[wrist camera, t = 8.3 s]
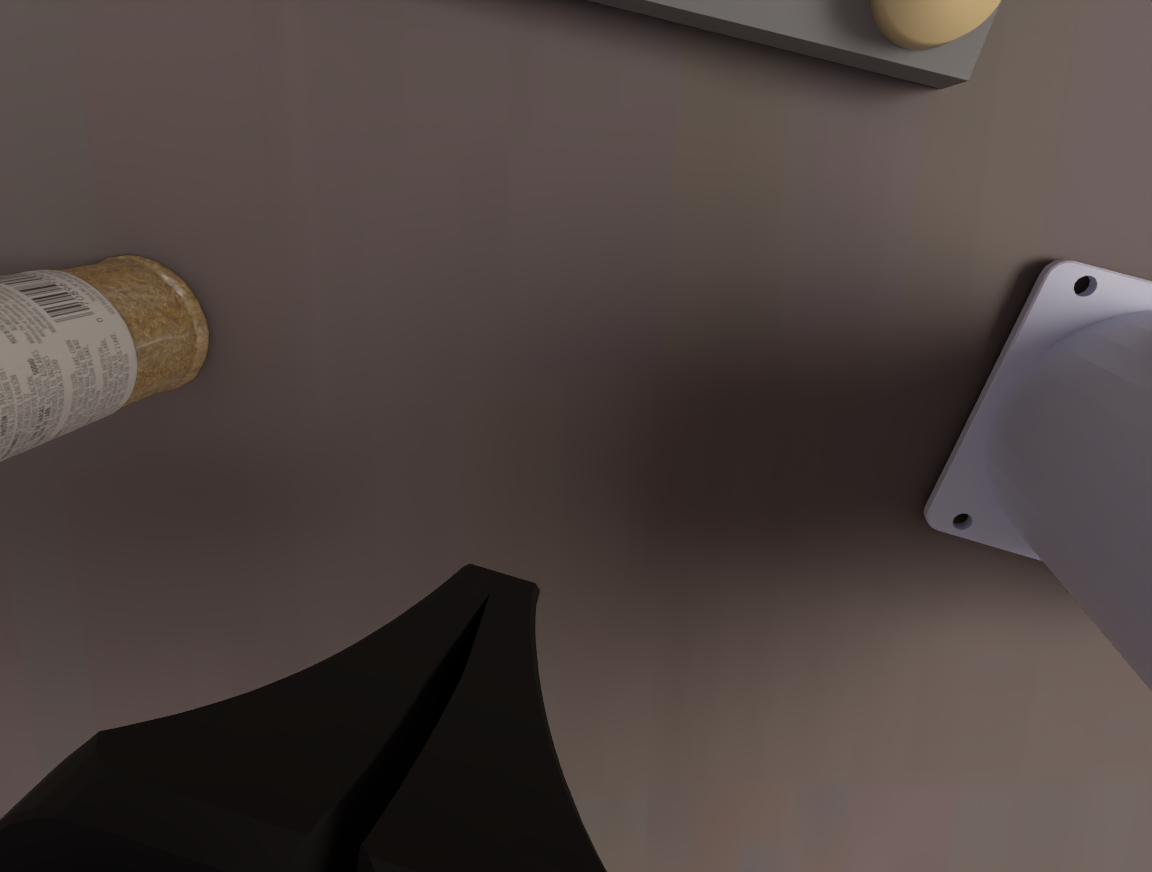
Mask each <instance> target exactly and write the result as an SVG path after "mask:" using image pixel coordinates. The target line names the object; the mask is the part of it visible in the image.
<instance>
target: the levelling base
mask: <svg viewBox="0 0 1152 872" xmlns="http://www.w3.org/2000/svg"><path fill="white" fill-rule="evenodd" d="M587 1H591V2H595V3H599V4H603V5H607V6H611V7H615V8H619V9H623V10H627V11H631V12H635V13H639V14H643V15H647V16H651V17H655V18H659V19H663V20H667V21H671V22H675V23H679V24H683V25H687V26H691V27H695V28H699V29H703V30H707V31H711V32H715V33H719V34H723V35H727V36H731V37H735V38H739V39H743V40H747V41H751V42H755V43H759V44H763V45H767V46H771V47H775V48H779V49H783V50H787V51H791V52H795V53H799V54H803V55H807V56H811V57H815V58H819V59H823V60H827V61H831V62H835V63H839V64H843V65H847V66H851V67H855V68H859V69H863V70H867V71H871V72H875V73H879V74H883V75H887V76H891V77H895V78H899V79H903V80H907V81H911V82H915V83H919V84H923V85H927V86H931V87H935V88H939V89H943V88H947V87H950V86H953V85H956V84H959V83H962V82H966V81H968V80H969V78H970V76H971V73H972V71H973V68H974V66H975V63H976V61H977V59H978V56H979V54H980V51H981V49H982V46H983V44H984V41H985V39H986V37H987V34H988V32H989V29H990V27H991V24H992V22H993V20H994V17H995V15H996V12H997V10H998V7H999V5H1000V3H1001V0H587Z"/></svg>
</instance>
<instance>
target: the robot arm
mask: <svg viewBox="0 0 1152 872" xmlns="http://www.w3.org/2000/svg"><path fill="white" fill-rule="evenodd" d="M1083 276H1088V278H1089V280H1090V283H1089V287H1088V288H1087V289H1086V290H1085V291H1084V292H1082V293H1080V294H1075V291H1074V284H1075V282H1076V281H1077V280H1078V279H1079V278H1081V277H1083ZM959 514H968V517H967V519H966V520H965V521H964V522H962V523H953V519H954V518H955V517H956V516H957V515H959ZM924 516H925V519H926V521H927V522H928V524H929V525H930V526H931V527H932V528H934V529H936V530H938V531H941V532H945V533H948V534H951V535H955V536H958V537H962V538H965V539H968V540H972V541H975V542H979V543H982V544H985V545H989V546H992V547H996V548H999V549H1003V550H1006V551H1009V552H1013V553H1016V554H1020V555H1023V556H1026V557H1030V558H1033V559H1037V560H1040V561H1043V562H1044V564H1045V565H1046V566H1047V567H1048V568H1049V570H1050V571H1051V572H1052V573H1053V574H1054V575H1055V577H1056V578H1057V579H1058V580H1059V581H1060V583H1061V584H1062V585H1063V586H1064V587H1065V589H1066V590H1067V591H1068V592H1069V593H1070V595H1071V596H1072V597H1073V598H1074V599H1075V601H1076V602H1077V603H1078V604H1079V605H1080V607H1081V608H1082V609H1083V610H1084V611H1085V612H1086V614H1087V615H1088V616H1089V617H1090V618H1091V620H1092V621H1093V622H1094V623H1095V624H1096V626H1097V627H1098V628H1099V629H1100V630H1101V632H1102V633H1103V634H1104V635H1105V636H1106V638H1107V639H1108V640H1109V641H1110V642H1111V643H1112V645H1113V646H1114V647H1115V648H1116V649H1117V651H1118V652H1119V653H1120V654H1121V655H1122V657H1123V658H1124V659H1125V660H1126V661H1127V663H1128V664H1129V665H1130V666H1131V667H1132V669H1133V670H1134V671H1135V672H1136V673H1137V675H1138V676H1139V677H1140V678H1141V679H1142V680H1143V682H1144V683H1145V684H1146V685H1147V686H1148V688H1149V689H1150V690H1151V691H1152V281H1148V280H1145V279H1141V278H1137V277H1133V276H1129V275H1126V274H1122V273H1118V272H1114V271H1110V270H1107V269H1103V268H1099V267H1095V266H1091V265H1088V264H1084V263H1080V262H1076V261H1073V260H1068V259H1059V260H1056V261H1053V262H1051V263H1050V264H1048V265H1047V266H1045V267H1044V269H1043V270H1042V271H1041V273H1040V274H1039V276H1038V278H1037V280H1036V282H1035V284H1034V286H1033V289H1032V291H1031V293H1030V295H1029V297H1028V299H1027V301H1026V303H1025V305H1024V307H1023V309H1022V311H1021V313H1020V315H1019V317H1018V319H1017V321H1016V323H1015V325H1014V327H1013V329H1012V331H1011V333H1010V335H1009V337H1008V339H1007V341H1006V343H1005V345H1004V347H1003V349H1002V351H1001V353H1000V355H999V357H998V359H997V362H996V364H995V366H994V368H993V370H992V372H991V374H990V376H989V378H988V380H987V382H986V384H985V386H984V388H983V390H982V392H981V394H980V396H979V398H978V400H977V402H976V404H975V406H974V408H973V410H972V412H971V414H970V416H969V418H968V420H967V422H966V424H965V426H964V428H963V430H962V432H961V434H960V437H959V439H958V441H957V443H956V445H955V447H954V449H953V451H952V453H951V455H950V457H949V459H948V461H947V463H946V465H945V467H944V469H943V471H942V473H941V475H940V477H939V479H938V481H937V483H936V485H935V487H934V489H933V491H932V493H931V495H930V497H929V499H928V501H927V503H926V505H925V509H924ZM539 593H540V590H539V588H538V587H537V585H536V583H533V582H529V581H526V580H523V579H519V578H516V577H513V576H509V575H506V574H503V573H499V572H496V571H493V570H489V569H486V568H483V567H479V566H476V565H473V564H468V565H466V566H464V567H462V568H461V569H460V570H459V571H458V572H457V573H456V574H454V575H453V576H452V577H451V578H450V579H448V580H447V581H446V582H445V583H443V584H442V585H441V586H440V587H438V588H437V589H436V590H434V591H433V592H432V593H431V594H429V595H428V596H427V597H425V598H424V599H423V600H421V601H420V602H418V603H417V604H416V605H414V606H413V607H411V608H410V609H408V610H407V611H406V612H404V613H403V614H401V615H400V616H399V617H397V618H396V619H394V620H393V621H391V622H389V623H388V624H386V625H385V626H383V627H381V628H380V629H378V630H377V631H375V632H373V633H372V634H370V635H368V636H367V637H365V638H364V639H362V640H360V641H359V642H357V643H355V644H353V645H352V646H350V647H348V648H346V649H344V650H343V651H341V652H339V653H337V654H335V655H333V656H331V657H329V658H327V659H325V660H323V661H321V662H319V663H317V664H315V665H313V666H311V667H309V668H307V669H305V670H302V671H300V672H298V673H295V674H293V675H291V676H288V677H286V678H284V679H281V680H279V681H276V682H274V683H271V684H269V685H266V686H264V687H261V688H259V689H256V690H253V691H250V692H248V693H245V694H242V695H239V696H236V697H233V698H230V699H227V700H224V701H221V702H217V703H214V704H210V705H207V706H204V707H200V708H197V709H194V710H190V711H186V712H183V713H179V714H175V715H171V716H167V717H162V718H158V719H154V720H149V721H145V722H141V723H136V724H132V725H128V726H123V727H119V728H114V729H109V730H104V731H99V732H98V733H97V734H96V735H94V736H93V737H92V738H91V739H90V740H89V741H87V742H86V743H85V744H83V745H82V746H81V747H80V748H78V749H77V750H76V751H74V752H73V753H72V754H71V755H69V756H68V757H67V758H66V759H65V760H64V761H62V762H61V763H60V764H59V765H58V766H57V767H56V768H55V769H53V770H52V771H51V772H50V773H49V774H48V775H47V776H46V777H45V778H44V779H43V780H42V781H41V782H40V783H38V784H37V785H36V786H35V787H34V788H33V789H32V790H31V791H30V792H29V793H28V794H27V795H26V796H25V797H24V798H23V799H22V800H21V801H19V802H18V803H17V804H16V805H15V806H14V807H13V808H12V809H11V810H10V811H9V812H8V813H7V814H6V815H5V816H4V817H3V818H2V819H0V872H607V871H606V869H605V868H604V866H603V864H602V862H601V860H600V858H599V856H598V854H597V852H596V850H595V848H594V846H593V844H592V842H591V840H590V838H589V835H588V833H587V831H586V829H585V827H584V825H583V823H582V821H581V818H580V816H579V813H578V811H577V808H576V805H575V803H574V800H573V798H572V795H571V793H570V790H569V788H568V785H567V783H566V780H565V778H564V775H563V772H562V769H561V766H560V763H559V760H558V757H557V753H556V750H555V747H554V743H553V740H552V736H551V732H550V729H549V725H548V721H547V716H546V712H545V707H544V702H543V697H542V691H541V685H540V679H539V672H538V662H537V652H536V638H535V616H536V604H537V600H538V596H539Z"/></svg>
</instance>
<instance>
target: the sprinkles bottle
mask: <svg viewBox="0 0 1152 872" xmlns="http://www.w3.org/2000/svg"><path fill="white" fill-rule="evenodd" d="M208 336H209V330H208V327H207V322H206V319H205V316H204V314H203V312H202V310H201V307H200V304H199V302H198V300H197V299H196V297H195V296H194V294H193V293H192V291H191V289H190V288H189V287H188V285H187V284H186V283H185V282H184V281H183V280H182V279H181V278H180V277H179V276H178V275H176V274H175V273H174V272H172V271H171V270H170V269H169V268H166V267H164V266H162V265H161V264H160V263H158V262H156V261H153V260H151V259H148V258H144V257H140V256H134V255H123V256H118V257H109V258H106V259H104V260H102V261H100V262H99V263H97V264H91V265H85V266H78V267H74V268H70V269H63V270H34V271H27V272H22V273H15V274H8V275H2V276H0V462H1V461H4V460H6V459H8V458H10V457H13V456H15V455H18V454H20V453H22V452H25V451H27V450H29V449H32V448H34V447H37V446H39V445H41V444H44V443H46V442H48V441H51V440H53V439H55V438H58V437H60V436H63V435H65V434H67V433H70V432H72V431H74V430H77V429H79V428H81V427H83V426H86V425H88V424H90V423H93V422H95V421H97V420H100V419H102V418H104V417H107V416H109V415H111V414H113V413H114V412H116V411H117V410H118V409H120V408H123V407H125V406H128V405H130V404H132V403H134V402H136V401H138V400H141V399H143V398H146V397H148V396H151V395H153V394H155V393H158V392H165V391H169V390H173V389H176V388H178V387H180V386H182V385H184V384H186V383H187V382H188V381H190V380H192V379H193V378H195V377H196V375H197V374H198V372H199V370H200V368H201V366H202V365H203V363H204V361H205V358H206V355H207V350H208V345H209V342H208Z"/></svg>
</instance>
